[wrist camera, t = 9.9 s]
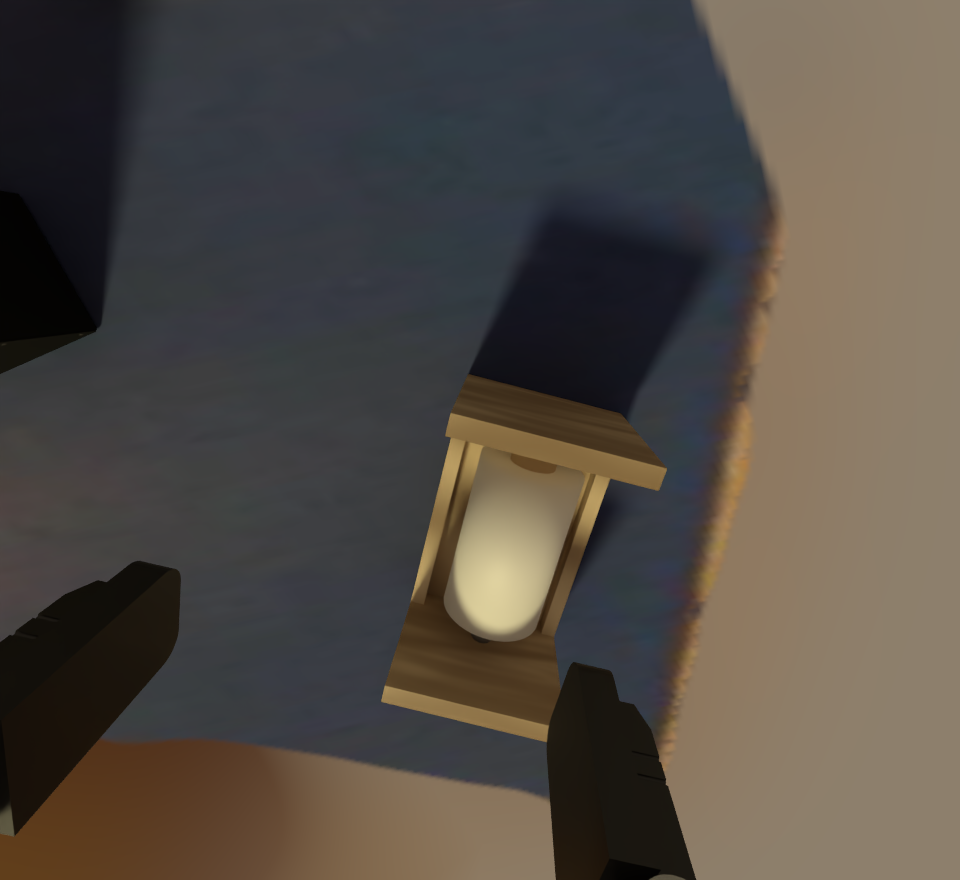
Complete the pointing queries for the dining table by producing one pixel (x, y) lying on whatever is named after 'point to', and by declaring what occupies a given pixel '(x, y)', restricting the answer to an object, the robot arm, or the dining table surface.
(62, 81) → the dining table surface
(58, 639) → the robot arm
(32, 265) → the tissue box
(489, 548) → the cylinder
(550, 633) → the holder
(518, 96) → the dining table surface
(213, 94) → the dining table surface
